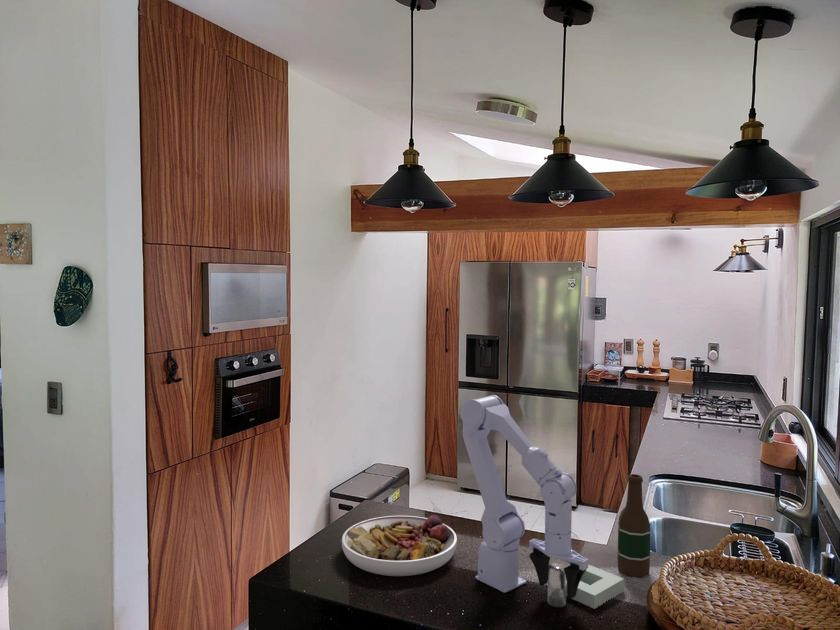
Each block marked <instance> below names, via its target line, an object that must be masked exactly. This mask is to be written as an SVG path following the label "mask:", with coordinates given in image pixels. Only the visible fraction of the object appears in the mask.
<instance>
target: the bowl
mask: <svg viewBox="0 0 840 630" xmlns="http://www.w3.org/2000/svg"><path fill="white" fill-rule="evenodd" d="M457 537H458V536H457V534H456V532H455V531H454V530H453V529H452V528H451V527H450V526H449V525H446V524H445V523H443V521H442V519H441V517H440V516H439V515H437V514H432V515H430V516H429V517H421V516H415V515H386V516H380V517H374V518H369V519H365V520H363V521H359V522H358V523H355V524H353V525H351V526H350V527H349V528H347V529H346V530H345V531H344V533H343V534H342V537H341V547H342V551H343V553H344V555H345V557H346V558H347V560H348V561H349V562H350V563H351V564H353V565H354V566H355V567H357V568H359V569H361V570H363V571H366V572H368V573H372V574H375V575H380V576H387V577H407V576H408V577H409V576H416V575H417V576H418V575H422V574H425V573H429V572H432V571H434V570H437V569H438V568H441V567H443V566H444V565H445V564H446V563H447V562H449V561H450V559H452V557H453V556H454V554H455V552H456V550H457V546H458V545H457V544H458V538H457Z"/></svg>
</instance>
